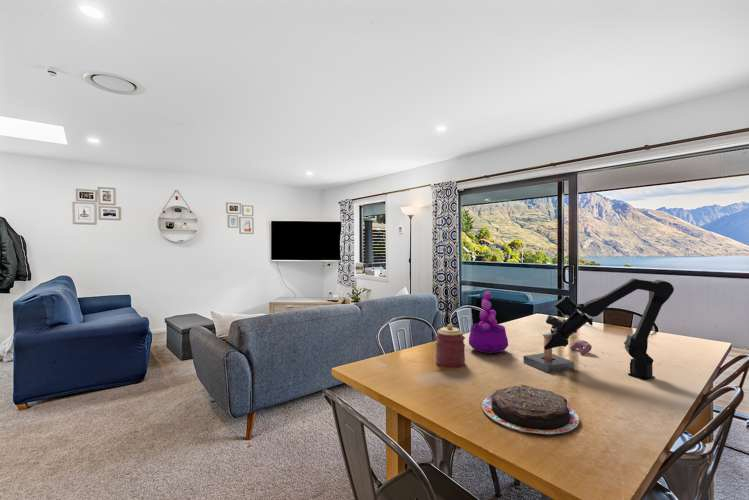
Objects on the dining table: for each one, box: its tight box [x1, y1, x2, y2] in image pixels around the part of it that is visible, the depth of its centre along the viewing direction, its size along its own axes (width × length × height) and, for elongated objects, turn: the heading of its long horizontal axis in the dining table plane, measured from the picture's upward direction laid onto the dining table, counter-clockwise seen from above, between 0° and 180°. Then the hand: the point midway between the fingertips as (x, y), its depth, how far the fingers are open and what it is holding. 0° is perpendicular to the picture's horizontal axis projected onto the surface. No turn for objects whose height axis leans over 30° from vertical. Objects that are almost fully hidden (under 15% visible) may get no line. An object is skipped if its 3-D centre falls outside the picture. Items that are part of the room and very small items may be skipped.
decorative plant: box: [468, 290, 509, 354], centre depth 175 cm, size 19×18×30 cm
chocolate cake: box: [481, 384, 581, 437], centre depth 110 cm, size 28×28×7 cm
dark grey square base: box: [523, 352, 575, 374], centre depth 153 cm, size 14×14×3 cm
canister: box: [434, 323, 466, 368], centre depth 158 cm, size 13×13×18 cm
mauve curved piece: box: [569, 339, 593, 356], centre depth 172 cm, size 10×5×7 cm, turn 0°
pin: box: [542, 332, 553, 361], centre depth 153 cm, size 4×4×14 cm
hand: (544, 346), depth 154 cm, fingers open, 6 cm apart
